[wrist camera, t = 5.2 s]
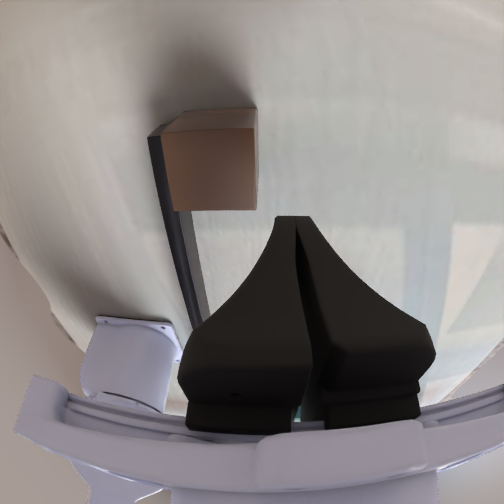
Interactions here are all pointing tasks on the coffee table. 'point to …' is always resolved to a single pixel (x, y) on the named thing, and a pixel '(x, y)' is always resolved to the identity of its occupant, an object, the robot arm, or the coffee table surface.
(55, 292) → the coffee table surface
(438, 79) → the coffee table surface
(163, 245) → the coffee table surface
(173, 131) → the block walnut
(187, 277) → the straightedge
